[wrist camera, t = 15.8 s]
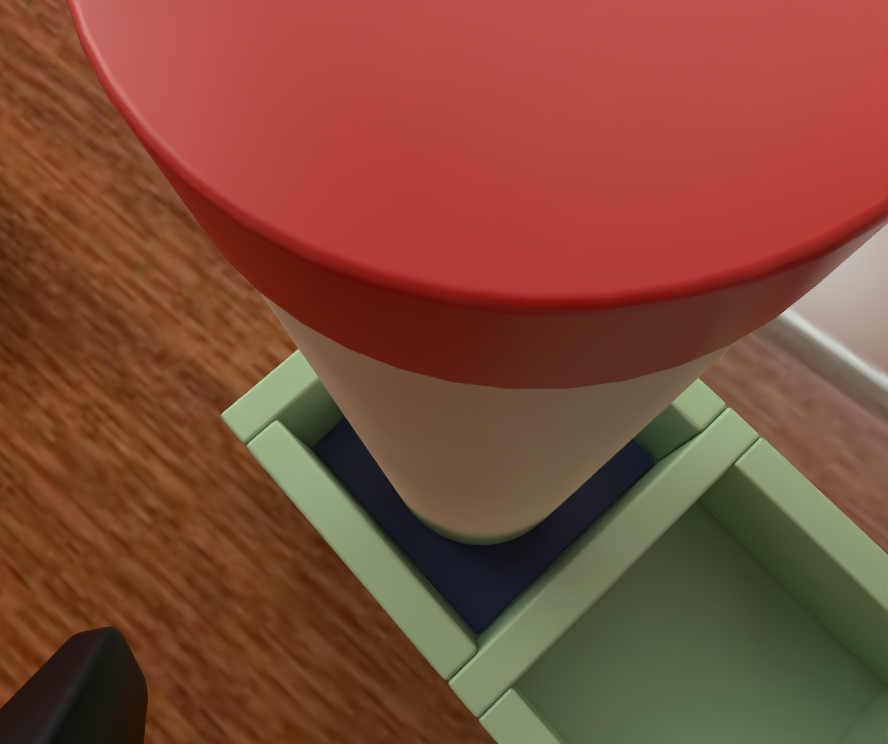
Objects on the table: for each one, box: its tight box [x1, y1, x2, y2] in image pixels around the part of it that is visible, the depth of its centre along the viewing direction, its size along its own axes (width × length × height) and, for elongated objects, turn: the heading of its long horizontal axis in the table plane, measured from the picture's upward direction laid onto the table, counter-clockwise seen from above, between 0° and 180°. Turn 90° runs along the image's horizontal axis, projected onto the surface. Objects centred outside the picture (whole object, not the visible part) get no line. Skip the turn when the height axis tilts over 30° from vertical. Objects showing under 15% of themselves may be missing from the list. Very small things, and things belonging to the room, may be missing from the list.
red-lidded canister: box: [66, 0, 888, 545], centre depth 9 cm, size 4×4×13 cm
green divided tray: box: [221, 349, 888, 744], centre depth 14 cm, size 12×6×4 cm, turn 42°
